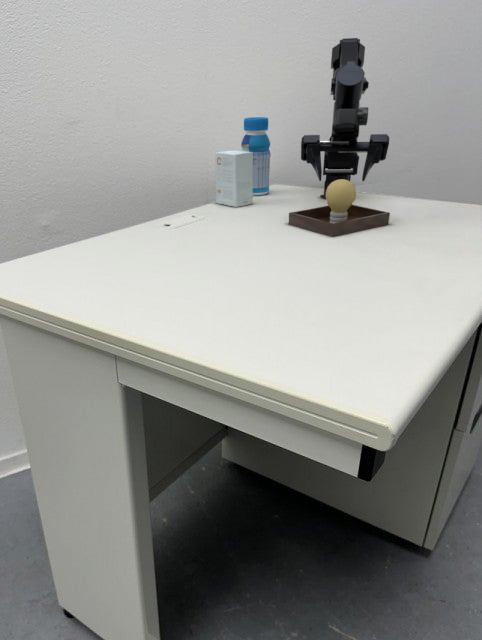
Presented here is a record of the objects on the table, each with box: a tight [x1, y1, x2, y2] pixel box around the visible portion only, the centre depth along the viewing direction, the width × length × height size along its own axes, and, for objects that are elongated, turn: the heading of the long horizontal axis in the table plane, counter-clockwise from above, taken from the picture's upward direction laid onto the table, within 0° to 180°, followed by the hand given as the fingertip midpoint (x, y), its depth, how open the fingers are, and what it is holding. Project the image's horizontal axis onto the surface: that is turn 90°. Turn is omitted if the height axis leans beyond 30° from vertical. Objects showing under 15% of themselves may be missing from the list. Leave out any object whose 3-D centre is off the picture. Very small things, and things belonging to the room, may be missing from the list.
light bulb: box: [325, 179, 357, 224], centre depth 119 cm, size 6×6×10 cm
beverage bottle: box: [240, 116, 272, 196], centre depth 154 cm, size 8×8×20 cm
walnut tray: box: [287, 204, 391, 238], centre depth 123 cm, size 17×14×3 cm
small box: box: [215, 149, 254, 208], centre depth 144 cm, size 8×6×13 cm
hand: (341, 179), depth 119 cm, fingers open, 9 cm apart
